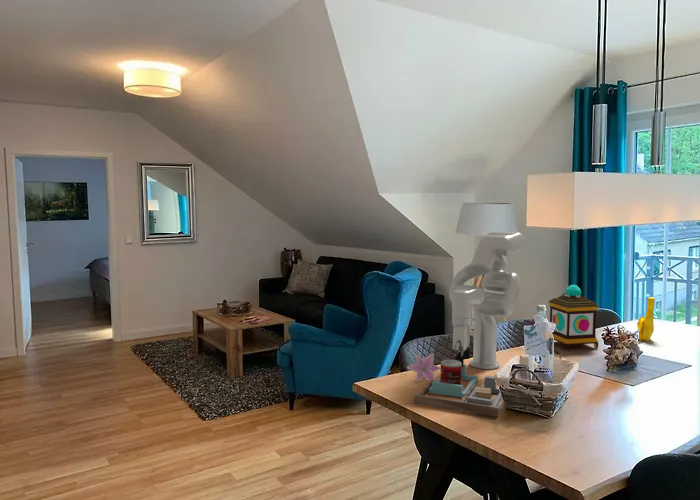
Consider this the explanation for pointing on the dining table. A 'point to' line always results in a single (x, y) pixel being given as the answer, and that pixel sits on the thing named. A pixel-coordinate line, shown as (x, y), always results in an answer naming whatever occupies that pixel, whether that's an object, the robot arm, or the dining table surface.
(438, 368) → the lily
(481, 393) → the tan wooden cube
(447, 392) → the teal rectangular frame
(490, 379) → the grey organizer tray
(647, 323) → the yellow foam finger
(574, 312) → the decorative lantern
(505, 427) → the dining table surface
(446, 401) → the divided compartment tray
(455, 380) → the canned food
